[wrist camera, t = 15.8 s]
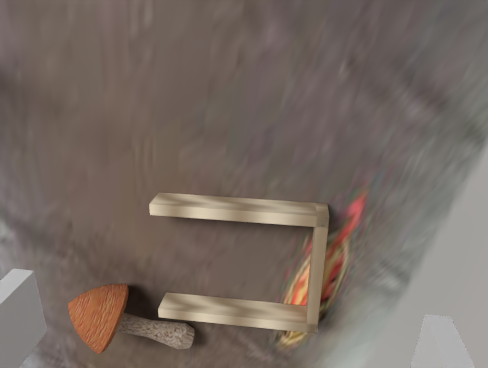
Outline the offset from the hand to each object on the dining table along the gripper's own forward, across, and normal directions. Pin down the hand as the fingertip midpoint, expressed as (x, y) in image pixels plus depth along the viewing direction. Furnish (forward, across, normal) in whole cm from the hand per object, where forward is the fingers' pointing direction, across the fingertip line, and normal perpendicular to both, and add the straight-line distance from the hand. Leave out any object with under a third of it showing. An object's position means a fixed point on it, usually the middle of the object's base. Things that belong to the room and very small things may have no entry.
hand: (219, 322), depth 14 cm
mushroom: (+25, -8, -28) cm, 38 cm away
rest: (+27, -4, -16) cm, 32 cm away
